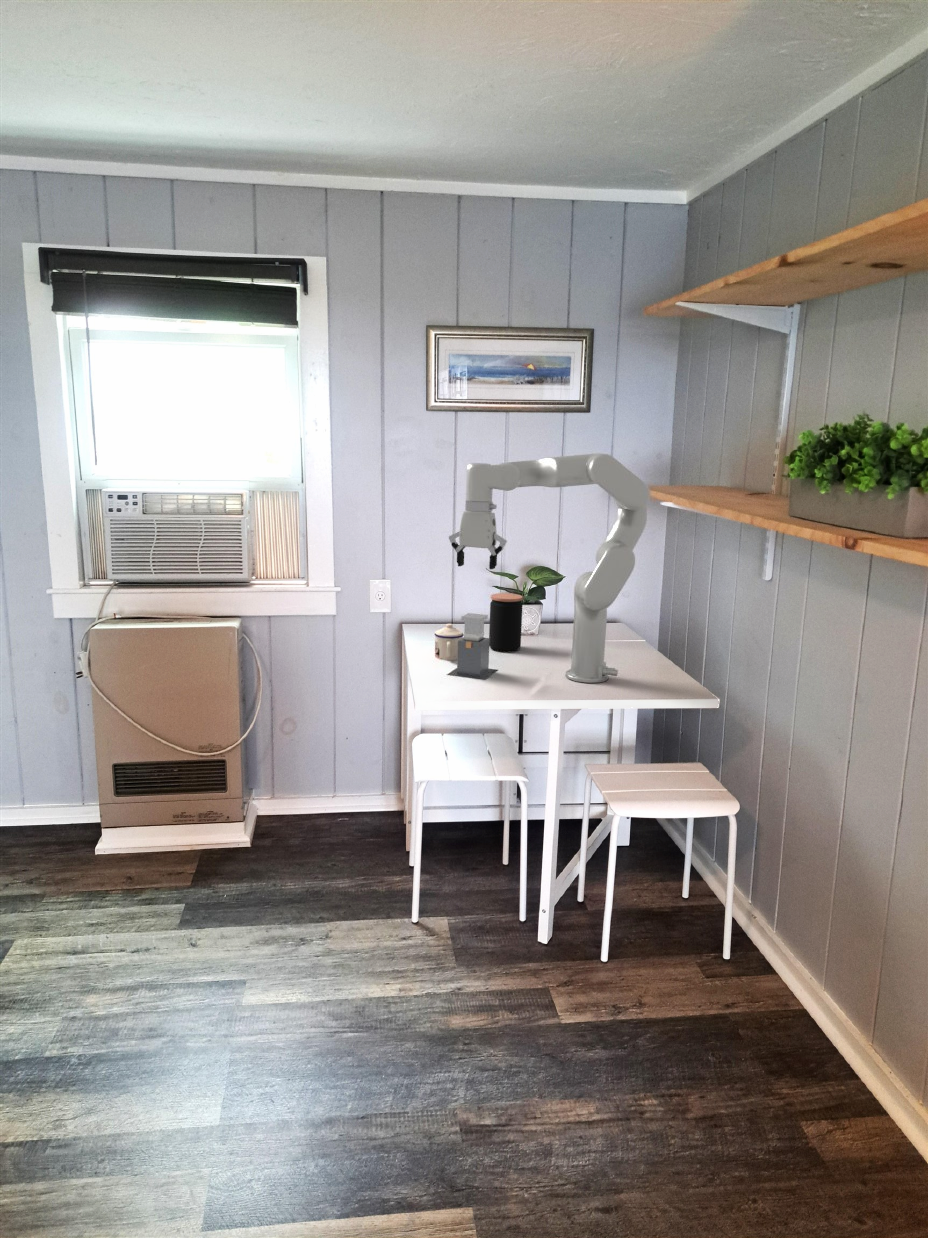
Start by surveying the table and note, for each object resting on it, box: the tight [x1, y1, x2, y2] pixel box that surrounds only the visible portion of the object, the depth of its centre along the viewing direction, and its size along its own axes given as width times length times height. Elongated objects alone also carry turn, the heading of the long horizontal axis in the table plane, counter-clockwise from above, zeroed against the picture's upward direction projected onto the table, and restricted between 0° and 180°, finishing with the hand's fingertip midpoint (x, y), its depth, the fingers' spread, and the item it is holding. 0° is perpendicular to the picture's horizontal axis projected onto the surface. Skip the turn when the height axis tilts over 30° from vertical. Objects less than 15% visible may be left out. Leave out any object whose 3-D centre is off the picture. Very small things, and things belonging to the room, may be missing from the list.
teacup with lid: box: [434, 623, 464, 661], centre depth 262 cm, size 12×9×12 cm
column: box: [460, 612, 489, 642], centre depth 246 cm, size 6×6×17 cm
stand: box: [446, 636, 499, 681], centre depth 247 cm, size 12×12×11 cm
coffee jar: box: [488, 592, 524, 653], centre depth 280 cm, size 11×11×18 cm
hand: (476, 567), depth 242 cm, fingers open, 9 cm apart
